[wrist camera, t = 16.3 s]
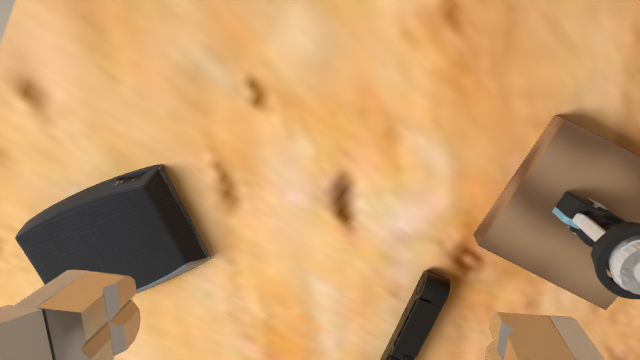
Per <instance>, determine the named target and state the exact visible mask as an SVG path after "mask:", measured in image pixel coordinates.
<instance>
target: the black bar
mask: <svg viewBox="0 0 640 360" xmlns="http://www.w3.org/2000/svg"><path fill="white" fill-rule="evenodd" d="M449 290H450V281H449V280H448V279H446V278H443V277H441V276H438V275H435V274H433V273H430V272H428V271H424V272H423V274H422V276H421V278H420V280H419V282H418V284H417V286H416V288H415V290H414V292H413V294H412V296H411V298H410V300H409V302H408V304H407V306H406V308H405V310H404V312H403V314H402V317H401V319H400V321H399V323H398V325H397V327H396V329H395V331H394V333H393V335H392V337H391V339H390V341H389V343H388V345H387V347H386V349H385V351H384V353H383V355H382V357H381V359H380V360H414V359H415V358H416V357H417V355H418V353H419V351H420V349H421V347H422V345H423V343H424V342H425V340H426V338H427V336H428V334H429V332H430V330H431V328H432V326H433V324H434V322H435V320H436V319H437V317H438V315H439V313H440V311H441V309H442V307H443V305H444V303H445V302H446V300H447V297H448V294H449Z"/></svg>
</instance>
